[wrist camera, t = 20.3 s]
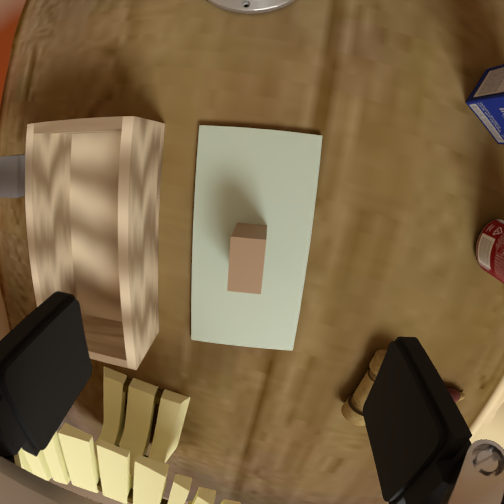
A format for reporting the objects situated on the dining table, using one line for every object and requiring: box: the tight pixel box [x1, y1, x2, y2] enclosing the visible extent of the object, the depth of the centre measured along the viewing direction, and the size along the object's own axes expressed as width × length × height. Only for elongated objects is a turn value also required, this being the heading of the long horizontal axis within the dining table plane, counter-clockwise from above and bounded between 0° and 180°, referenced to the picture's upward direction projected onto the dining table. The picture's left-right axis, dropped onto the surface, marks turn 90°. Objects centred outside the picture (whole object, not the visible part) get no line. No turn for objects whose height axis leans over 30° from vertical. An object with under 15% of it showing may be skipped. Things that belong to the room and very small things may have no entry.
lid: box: [191, 125, 322, 351], centre depth 31 cm, size 24×12×7 cm, turn 175°
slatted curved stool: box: [18, 366, 241, 504], centre depth 34 cm, size 30×16×18 cm, turn 73°
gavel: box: [341, 349, 465, 426], centre depth 37 cm, size 21×5×10 cm
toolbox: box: [0, 116, 165, 370], centre depth 30 cm, size 24×15×9 cm, turn 174°
